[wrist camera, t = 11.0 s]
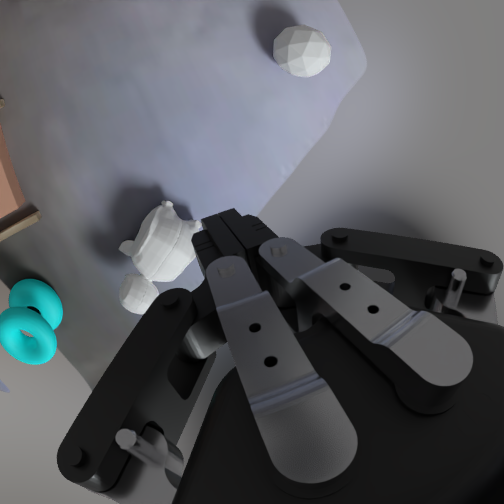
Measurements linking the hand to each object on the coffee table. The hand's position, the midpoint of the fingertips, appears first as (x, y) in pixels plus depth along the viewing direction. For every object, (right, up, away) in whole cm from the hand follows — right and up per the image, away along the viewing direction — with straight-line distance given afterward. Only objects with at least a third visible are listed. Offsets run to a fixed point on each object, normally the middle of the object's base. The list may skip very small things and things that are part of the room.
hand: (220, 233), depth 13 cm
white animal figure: (-13, 0, +28) cm, 31 cm away
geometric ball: (+7, +27, +21) cm, 35 cm away
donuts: (-33, -9, +23) cm, 42 cm away
